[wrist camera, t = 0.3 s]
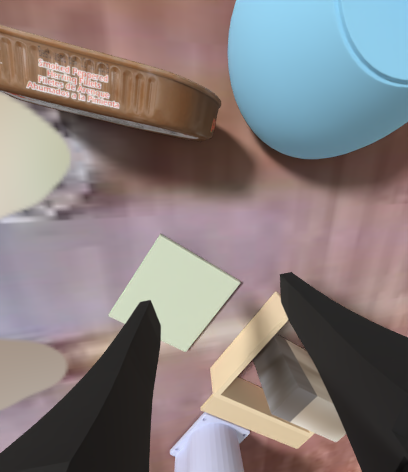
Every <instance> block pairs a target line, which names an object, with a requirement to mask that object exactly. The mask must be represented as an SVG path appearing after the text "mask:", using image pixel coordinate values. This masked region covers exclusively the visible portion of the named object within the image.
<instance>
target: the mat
mask: <svg viewBox="0 0 408 472" xmlns="http://www.w3.org/2000/svg"><path fill="white" fill-rule="evenodd" d="M239 284H240V281H239V280H238V279H236V278H234V277H233V276H231V275H229V274H228V273H226V272H224V271H223V270H221V269H219V268H218V267H216V266H214V265H213V264H211V263H209V262H208V261H206V260H204V259H203V258H201V257H199V256H198V255H196V254H194V253H193V252H191V251H189V250H188V249H186V248H184V247H182V246H181V245H179V244H177V243H176V242H174V241H172V240H171V239H169V238H167V237H166V236H164V235H162V234H160V235H159V237H158V239H157V240H156V242H155V243H154V245H153V246H152V248H151V249H150V251H149V253H148V254H147V256H146V257H145V259H144V260H143V262H142V263H141V265H140V267H139V268H138V270H137V271H136V273H135V274H134V276H133V277H132V279H131V280H130V282H129V284H128V285H127V287H126V288H125V290H124V291H123V293H122V294H121V296H120V298H119V299H118V301H117V302H116V304H115V305H114V307H113V308H112V310H111V312H110V313H109V315H108V316H109V317H111V318H114V319H116V320H118V321H120V322H122V323H124V324H125V323H126V322H127V320H128V319H129V317H130V316H131V314H132V313H133V311H134V310H135V308H136V307H137V305H138V304H139V303H140V302H142V301H147V300H151V302H152V304H153V307H154V309H155V312H156V314H157V317H158V319H159V322H160V324H161V341H163V342H165V343H167V344H169V345H171V346H174V347H176V348H178V349H180V350H182V351H184V352H186V351H187V350H188V348H189V347H190V346H191V345H192V343H193V342H194V341H195V340H196V338H197V337H198V336H199V335H200V333H201V332H202V331H203V330H204V328H205V327H206V326H207V325H208V323H209V322H210V321H211V319H212V318H213V317H214V316H215V314H216V313H217V312H218V311H219V309H220V308H221V307H222V306H223V304H224V303H225V302H226V301H227V299H228V298H229V297H230V296H231V294H232V293H233V292H234V291H235V289H236V288H237V287H238V285H239Z"/></svg>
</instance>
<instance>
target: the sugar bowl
mask: <svg viewBox="0 0 408 472" xmlns="http://www.w3.org/2000/svg"><path fill="white" fill-rule="evenodd" d="M228 67H229V75H230V81H231V86H232V90H233V93H234V97H235V100H236V102H237V105H238V107H239V109H240V112H241V114H242V115H243V117H244V119H245V121H246V122H247V124H248V125H249V127H250V128H251V129H252V130H253V132H254V133H255V134H256V135H257V136H258V137H259V138H260V139H261V140H262V141H263V142H264V143H266V144H267V145H269V146H270V147H271V148H273V149H275V150H277V151H278V152H280V153H282V154H285V155H288V156H291V157H296V158H301V159H321V158H330V157H335V156H339V155H343V154H347V153H349V152H352V151H355V150H357V149H360V148H363V147H365V146H367V145H369V144H372V143H374V142H376V141H378V140H380V139H381V138H383V137H385V136H387V135H389V134H390V133H392V132H393V131H395V130H397V129H398V128H400V127H401V126H403V125H404V124H405V123H407V122H408V0H236V3H235V7H234V10H233V14H232V18H231V24H230V30H229V37H228Z"/></svg>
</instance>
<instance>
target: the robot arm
mask: <svg viewBox="0 0 408 472" xmlns="http://www.w3.org/2000/svg"><path fill="white" fill-rule="evenodd" d="M280 288H281V304H282V306H283V308H284V311H285V313H286V315H287V317H288V320H289V321H290V323H291V325H292V327H293V328H294V330H295V332H296V333H297V335H298V337H299V339H300V340H301V342H302V344H303V345H304V347H305V349H306V350H307V352H308V354H309V356H310V357H311V359H312V361H313V363H314V364H315V366H316V368H317V370H318V372H319V374H320V377H321V379H322V381H323V383H324V385H325V387H326V389H327V391H328V394H329V396H330V398H331V400H332V402H333V404H334V407H335V409H336V411H337V413H338V416H339V418H340V420H341V422H342V425H343V427H344V429H345V432H346V434H347V436H348V439H349V441H350V443H351V446H352V448H353V450H354V453H355V455H356V458H357V460H358V463H359V465H360V467H361V470H362V472H408V337H405V336H403V335H400V334H398V333H396V332H394V331H391V330H389V329H387V328H384V327H382V326H380V325H378V324H376V323H374V322H372V321H369V320H368V319H366V318H364V317H362V316H360V315H358V314H356V313H354V312H352V311H350V310H348V309H347V308H345V307H343V306H341V305H340V304H338V303H336V302H335V301H333V300H331V299H330V298H328V297H327V296H325V295H324V294H322V293H321V292H319V291H317V290H316V289H315V288H313V287H312V286H310V285H309V284H307V283H306V282H304V281H303V280H302V279H300V278H299V277H297V276H296V275H295V274H293V273H292V272H290V273H285V274H280ZM160 341H161V324H160V322H159V319H158V317H157V314H156V312H155V309H154V307H153V304H152V302H151V300H147V301H142V302H140V303H139V304H138V305H137V307H136V308H135V310H134V311H133V313H132V314H131V316H130V317H129V319H128V320H127V322H126V323H125V325H124V326H123V328H122V329H121V331H120V332H119V334H118V335H117V336H116V338H115V339H114V341H113V342H112V343H111V344H110V346H109V347H108V348H107V350H106V351H105V352H104V354H103V355H102V356H101V357H100V359H99V360H98V361H97V362H96V363H95V365H94V366H93V367H92V368H91V369H90V370H89V371H88V373H87V374H86V375H85V376H84V377H83V378H82V379H81V380H80V381H79V382H78V383H77V384H76V385H75V386H74V387H73V388H72V389H71V391H70V392H69V393H68V394H67V395H66V396H65V397H64V398H63V399H62V400H61V401H60V402H58V403H57V404H56V405H55V406H54V407H53V408H52V409H51V410H50V411H49V412H48V413H47V414H46V415H45V416H43V417H42V418H41V419H40V420H39V421H38V422H37V423H36V424H35V425H33V426H32V427H31V428H30V429H29V430H28V431H26V432H25V433H24V434H23V435H22V436H20V437H19V438H18V439H17V440H16V441H15V442H13V443H12V444H11V445H10V446H9V447H7V448H6V449H5V450H4V451H2V452H1V453H0V472H149V453H150V430H151V413H152V398H153V390H154V383H155V377H156V370H157V364H158V357H159V350H160ZM249 434H250V430H249V429H246V428H244V427H241V426H239V425H236V424H234V423H231V422H229V421H226V420H224V419H221V418H219V417H216V416H214V415H211V414H209V413H206V412H204V413H203V414H202V415H201V416H200V418H199V419H198V420H197V421H196V422H195V423H194V424H193V425H192V426H191V428H190V429H189V430H188V431H187V432H186V433H185V434H184V435H183V436H182V438H181V439H180V440H179V441H178V442H177V443H176V444H175V445H174V446H173V447H172V449H171V450H170V454H171V455H173V456H175V472H244V468H243V463H242V457H241V452H240V446H239V444H240V443H241V442H242V441H243V440H244V439H245V438H246V437H247V436H248V435H249Z"/></svg>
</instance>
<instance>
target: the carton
mask: <svg viewBox="0 0 408 472" xmlns="http://www.w3.org/2000/svg"><path fill="white" fill-rule="evenodd" d="M287 321H288V317H287V315H286V313H285V311H284V308H283V306H282V304H281V294H279V293H278V292H275V293H274V294H273V295H272V296H271V297H270V299H269V300H268V301H267V302H266V303H265V305H264V306H263V307H262V308H261V309H260V310H259V312H258V313H257V314H256V315H255V316H254V317H253V319H252V320H251V321H250V322H249V323H248V324H247V326H246V327H245V328H244V329H243V330H242V332H241V333H240V334H239V335H238V336H237V337H236V339H235V340H234V341H233V342H232V343H231V344H230V346H229V347H228V348H227V349H226V350H225V351H224V353H223V354H222V355H221V356H220V357H219V359H218V360H217V361H216V362H215V363H214V364H213V366H212V367H211V368H210V372H211V381H212V390H213V394H212V395H211V396H210V397H209V399H208V400H207V401H206V402H205V403H204V404H203V405H202V406H201V411H204V412H206V413H209V414H211V415H214V416H216V417H219V418H221V419H224V420H226V421H229V422H231V423H234V424H236V425H239V426H241V427H244V428H246V429H249V430H251V431H254V432H256V433H259V434H261V435H264V436H266V437H269V438H271V439H274V440H276V441H279V442H281V443H284V444H286V445H289V446H291V447H294V448H296V449H298V448H299V447H300V446H301V445H302V444H303V443H304V442H306V441H307V440H308V439H309V438H310V437H311V436H312V435H313V434H315V433H314V432H311V431H309V430H307V429H305V428H302V427H300V426H298V425H295V424H293V423H291V422H288V421H286V420H284V419H282V418H279V417H277V416H275V415H272V414H271V412H270V409H269V406H268V403H267V400H266V397H265V394H264V391H263V388H261V387H259V386H256V385H254V384H252V383H250V382H248V381H246V380H244V379H241V378H239V377H237V376H238V375H239V374H240V373H241V372H242V371H243V369H244V368H245V367H246V366H247V365H248V364H249V363H250V362H251V361H252V359H253V358H254V357H255V356H256V355H257V354H258V353H259V352H260V351H261V350H262V348H263V347H264V346H265V345H266V344H267V343H268V342H269V341H270V340H271V338H272V337H273V336H274V335H275V334H276V333H277V332H278V331H279V330H280V328H281V327H282V326H283V325H284V324H285V323H286V322H287Z"/></svg>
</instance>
